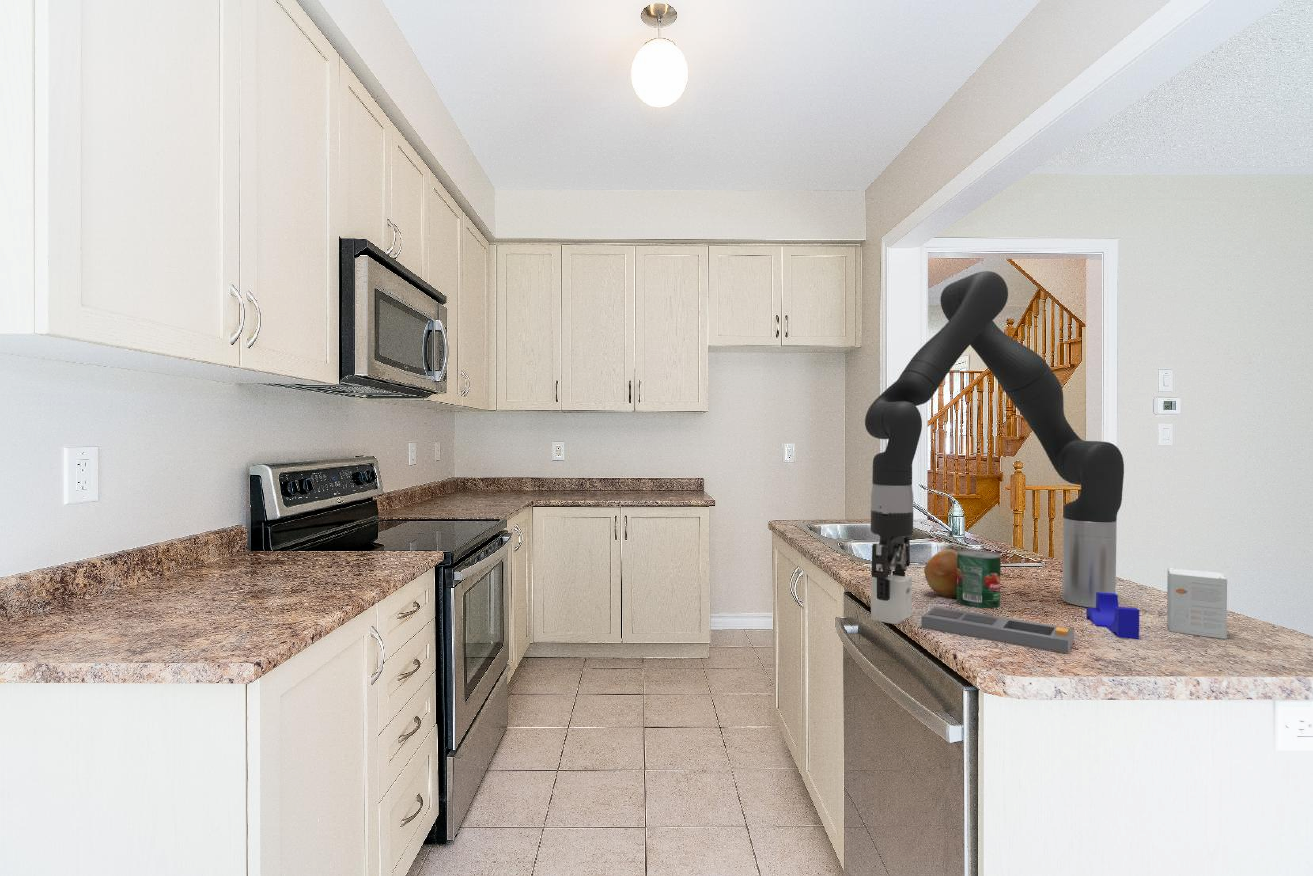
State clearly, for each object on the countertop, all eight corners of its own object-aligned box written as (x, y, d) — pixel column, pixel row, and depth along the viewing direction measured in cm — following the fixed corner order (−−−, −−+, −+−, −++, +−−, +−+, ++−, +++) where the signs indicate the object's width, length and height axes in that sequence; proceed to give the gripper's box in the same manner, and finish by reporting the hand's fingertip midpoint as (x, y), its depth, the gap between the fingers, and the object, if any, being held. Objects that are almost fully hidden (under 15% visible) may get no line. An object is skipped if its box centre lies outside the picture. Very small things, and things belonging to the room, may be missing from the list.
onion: (922, 589, 150) (923, 544, 149) (971, 593, 147) (972, 547, 146) (925, 600, 140) (926, 552, 140) (978, 604, 137) (978, 555, 137)
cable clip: (1086, 623, 125) (1086, 591, 125) (1114, 626, 123) (1115, 593, 123) (1107, 643, 113) (1108, 608, 113) (1138, 646, 112) (1139, 610, 112)
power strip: (934, 622, 124) (934, 603, 124) (1074, 646, 111) (1074, 625, 111) (921, 633, 118) (921, 612, 118) (1067, 660, 104) (1068, 637, 104)
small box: (1222, 631, 119) (1223, 572, 119) (1227, 640, 115) (1228, 578, 114) (1166, 624, 124) (1167, 567, 124) (1168, 632, 119) (1169, 572, 119)
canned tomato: (954, 601, 139) (954, 548, 139) (996, 604, 137) (997, 550, 137) (959, 611, 132) (959, 555, 132) (1003, 615, 129) (1004, 558, 129)
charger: (879, 614, 130) (879, 573, 130) (911, 620, 126) (912, 577, 126) (870, 619, 126) (871, 577, 126) (904, 625, 122) (904, 582, 122)
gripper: (884, 503, 134) (884, 585, 134) (858, 510, 122) (857, 599, 123) (924, 506, 129) (923, 591, 129) (899, 514, 118) (899, 606, 118)
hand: (891, 595), depth 126 cm, fingers open, 8 cm apart
